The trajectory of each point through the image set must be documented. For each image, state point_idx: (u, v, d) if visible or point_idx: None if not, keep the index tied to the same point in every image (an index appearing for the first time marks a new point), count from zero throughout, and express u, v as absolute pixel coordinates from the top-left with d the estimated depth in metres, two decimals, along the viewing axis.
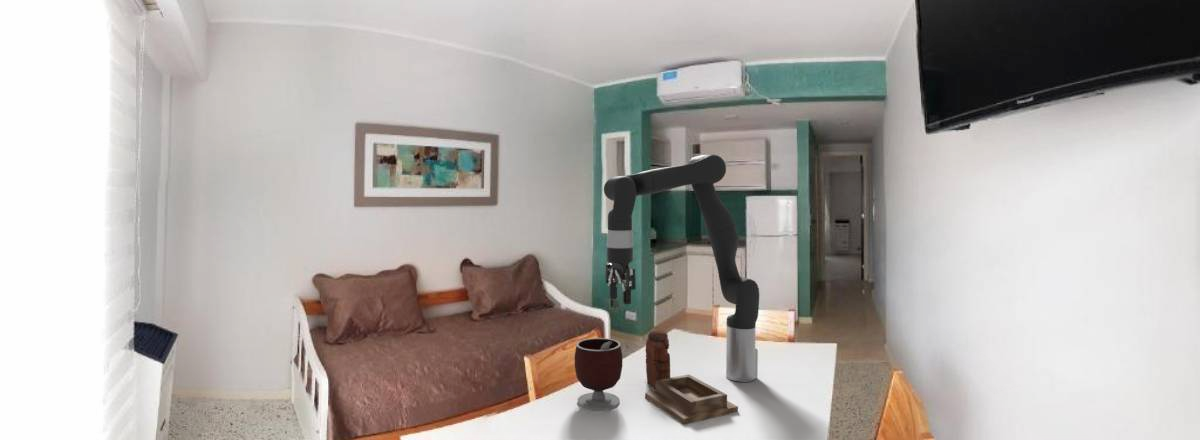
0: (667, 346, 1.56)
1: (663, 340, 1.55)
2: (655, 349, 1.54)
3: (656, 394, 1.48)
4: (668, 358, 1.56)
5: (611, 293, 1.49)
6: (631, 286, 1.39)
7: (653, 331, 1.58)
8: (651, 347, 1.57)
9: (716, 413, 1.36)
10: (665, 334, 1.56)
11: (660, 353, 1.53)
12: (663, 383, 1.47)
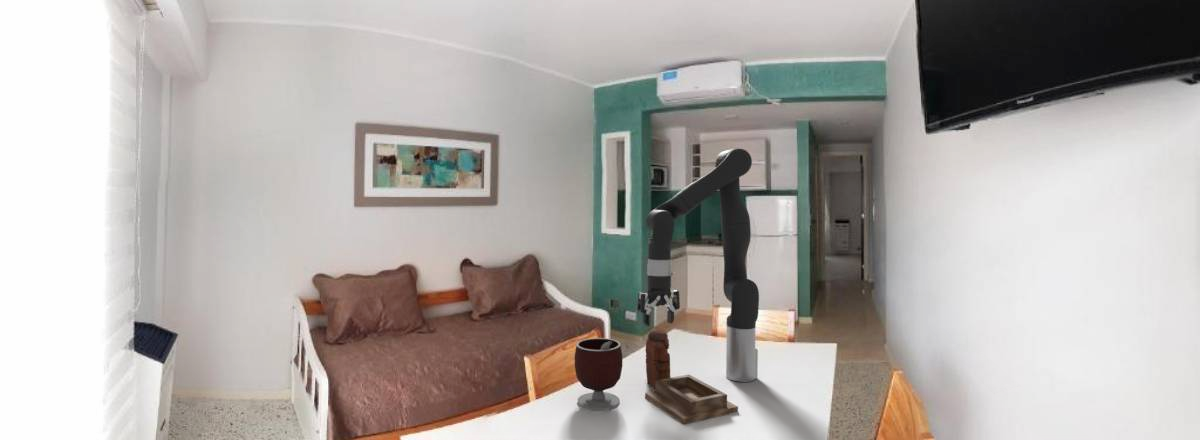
0: (667, 346, 1.56)
1: (663, 340, 1.55)
2: (655, 349, 1.54)
3: (656, 394, 1.48)
4: (668, 358, 1.56)
5: None
6: None
7: (653, 331, 1.58)
8: (651, 347, 1.57)
9: (716, 413, 1.36)
10: (665, 334, 1.56)
11: (660, 353, 1.53)
12: (663, 383, 1.47)
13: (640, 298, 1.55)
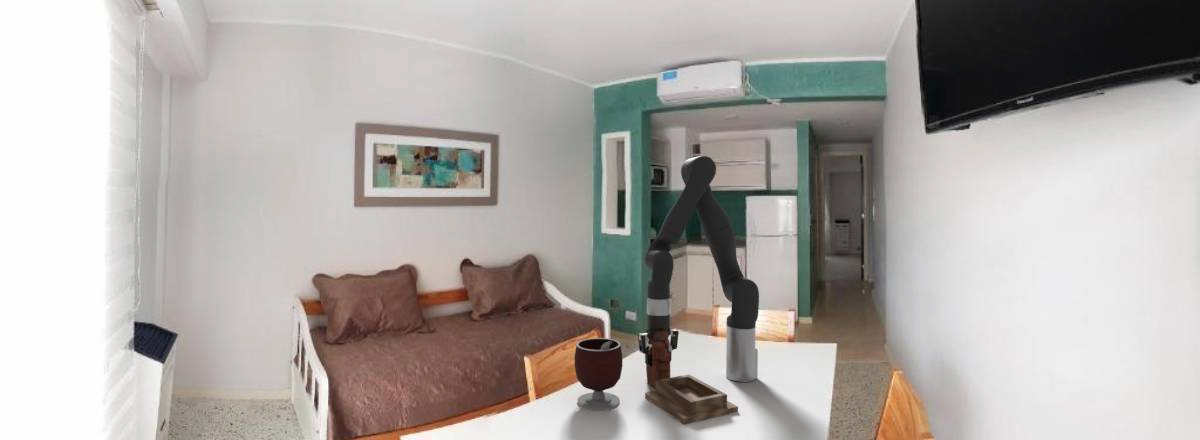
0: (667, 346, 1.56)
1: (663, 340, 1.55)
2: (655, 349, 1.54)
3: (656, 394, 1.48)
4: (668, 358, 1.56)
5: None
6: None
7: None
8: None
9: (716, 413, 1.36)
10: (665, 334, 1.56)
11: (660, 353, 1.53)
12: (663, 383, 1.47)
13: (640, 340, 1.56)
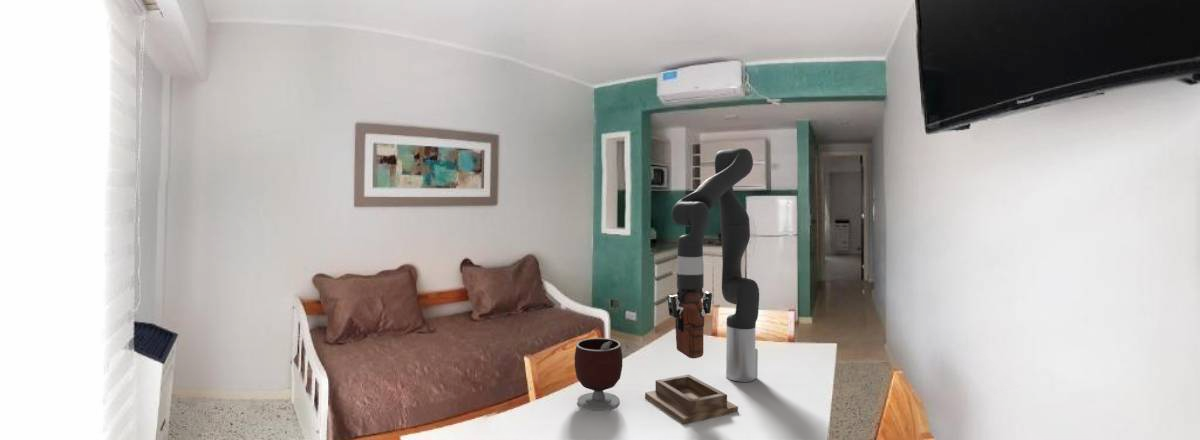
0: (700, 309, 1.41)
1: (696, 302, 1.39)
2: (688, 312, 1.38)
3: (656, 394, 1.48)
4: (702, 322, 1.40)
5: None
6: None
7: None
8: None
9: (716, 413, 1.36)
10: (698, 295, 1.41)
11: (693, 316, 1.37)
12: (663, 383, 1.47)
13: (670, 302, 1.40)
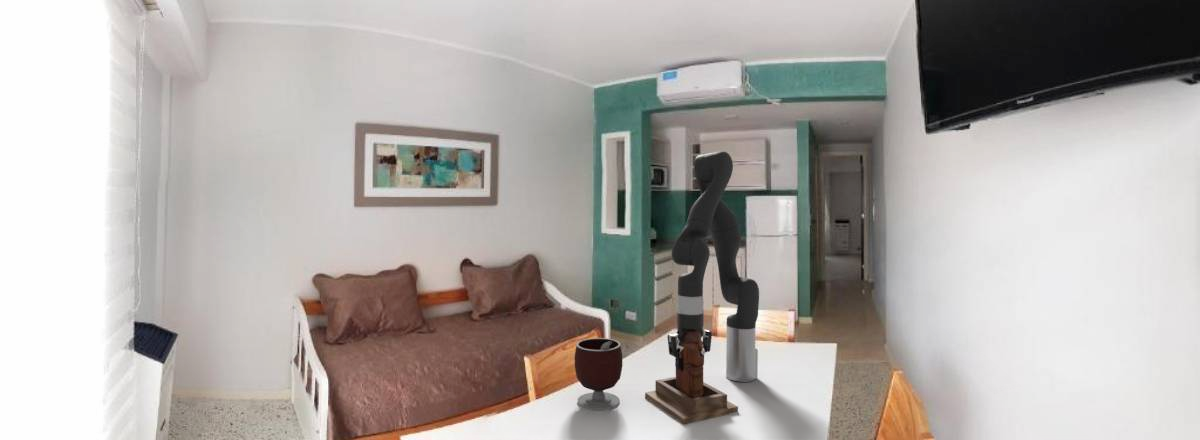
0: (700, 348, 1.41)
1: (696, 341, 1.39)
2: (688, 352, 1.38)
3: (656, 394, 1.48)
4: (702, 362, 1.40)
5: None
6: None
7: None
8: None
9: (716, 413, 1.36)
10: (698, 335, 1.41)
11: (693, 356, 1.38)
12: (663, 383, 1.47)
13: (670, 341, 1.40)
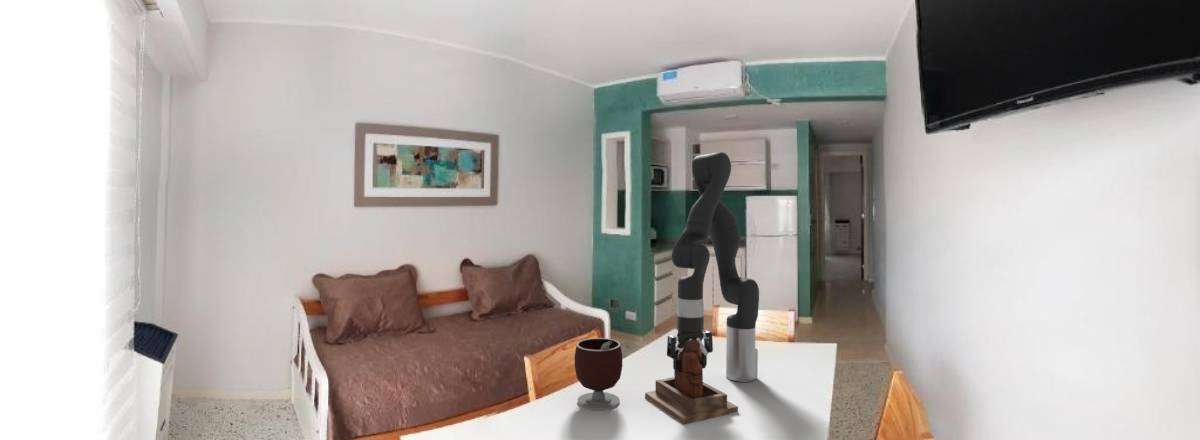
0: (700, 356, 1.41)
1: (696, 350, 1.39)
2: (687, 360, 1.38)
3: (656, 394, 1.48)
4: (701, 370, 1.40)
5: None
6: None
7: None
8: (682, 358, 1.41)
9: (716, 413, 1.36)
10: (698, 343, 1.41)
11: (693, 365, 1.37)
12: (663, 383, 1.47)
13: (670, 342, 1.40)
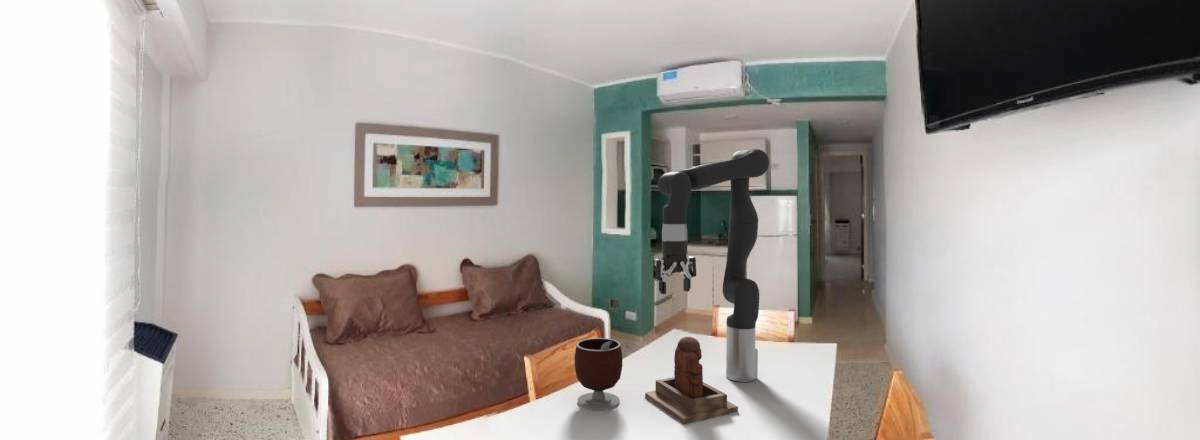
0: (700, 356, 1.41)
1: (696, 350, 1.39)
2: (687, 360, 1.38)
3: (656, 394, 1.48)
4: (701, 370, 1.40)
5: None
6: None
7: (684, 340, 1.42)
8: (682, 358, 1.41)
9: (716, 413, 1.36)
10: (697, 343, 1.41)
11: (693, 365, 1.37)
12: (663, 383, 1.47)
13: (656, 265, 1.48)
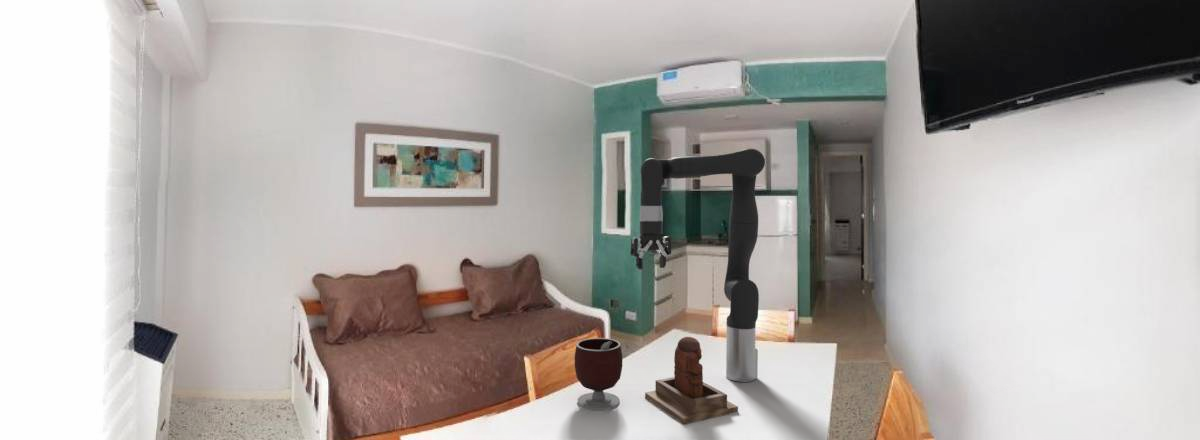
0: (700, 356, 1.41)
1: (696, 350, 1.39)
2: (687, 360, 1.38)
3: (656, 394, 1.48)
4: (701, 370, 1.40)
5: None
6: None
7: (684, 340, 1.42)
8: (682, 358, 1.41)
9: (716, 413, 1.36)
10: (697, 343, 1.41)
11: (693, 365, 1.37)
12: (663, 383, 1.47)
13: (633, 242, 1.63)
